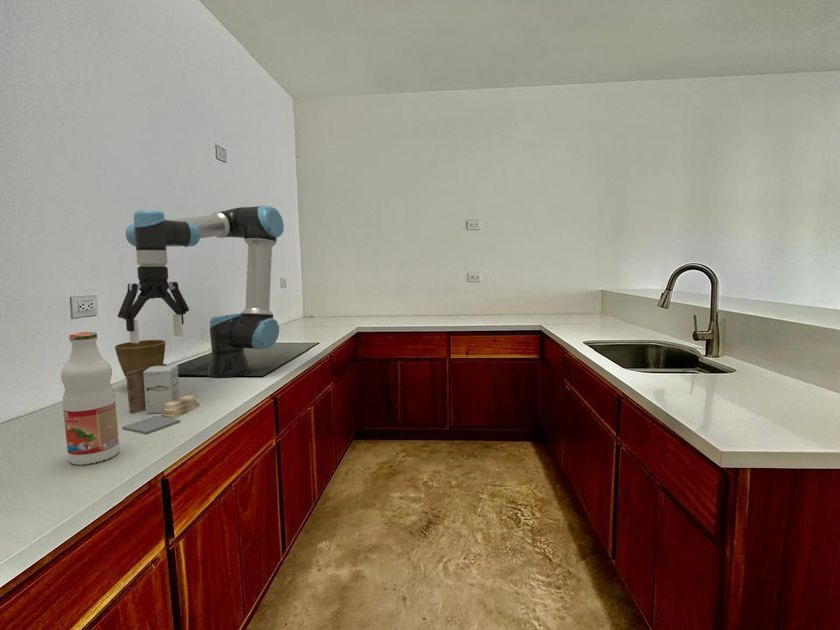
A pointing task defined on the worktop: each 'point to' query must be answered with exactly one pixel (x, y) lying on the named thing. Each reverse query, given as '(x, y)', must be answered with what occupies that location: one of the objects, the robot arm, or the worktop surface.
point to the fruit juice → (89, 403)
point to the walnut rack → (136, 389)
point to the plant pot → (140, 354)
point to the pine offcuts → (180, 406)
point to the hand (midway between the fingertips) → (157, 339)
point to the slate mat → (151, 424)
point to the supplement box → (160, 387)
